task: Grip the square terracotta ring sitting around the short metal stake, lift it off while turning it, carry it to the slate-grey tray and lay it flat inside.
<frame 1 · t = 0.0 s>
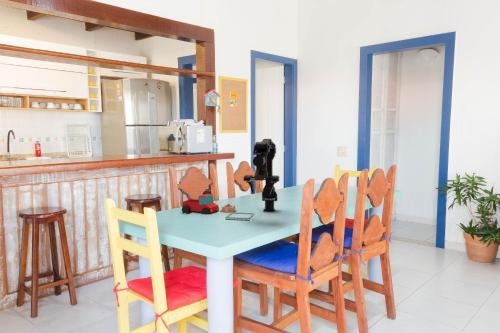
hand: (261, 194, 210), 15 cm above the table, fingers open, 9 cm apart
stake: (228, 212, 233), on the table
toy truck: (200, 213, 232), on the table
ring: (228, 211, 233), point 1 cm above the table, touching stake
tray: (240, 217, 219), on the table
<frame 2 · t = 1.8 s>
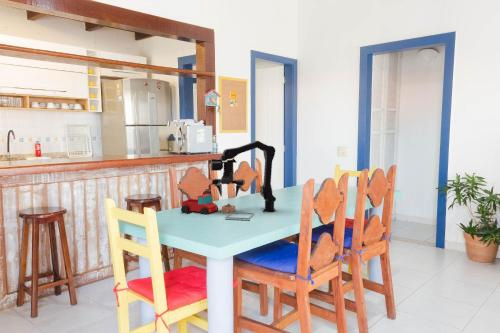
hand: (228, 196, 232), 10 cm above the table, fingers open, 9 cm apart
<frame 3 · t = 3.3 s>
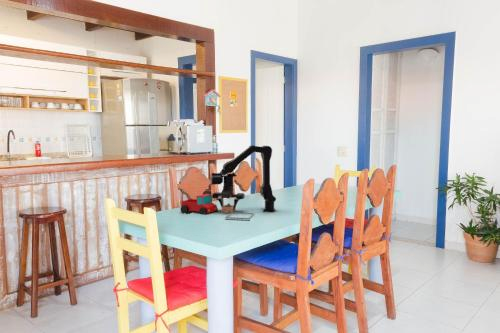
hand: (228, 210, 232), 2 cm above the table, fingers closed on ring, 7 cm apart
ring: (228, 211, 233), point 1 cm above the table, touching gripper, stake
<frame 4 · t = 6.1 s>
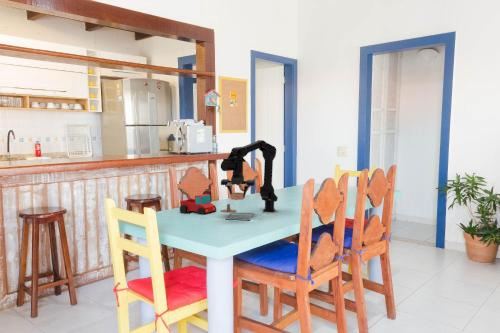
hand: (237, 197, 220), 11 cm above the table, fingers closed on ring, 7 cm apart
ring: (237, 198, 220), point 10 cm above the table, touching gripper
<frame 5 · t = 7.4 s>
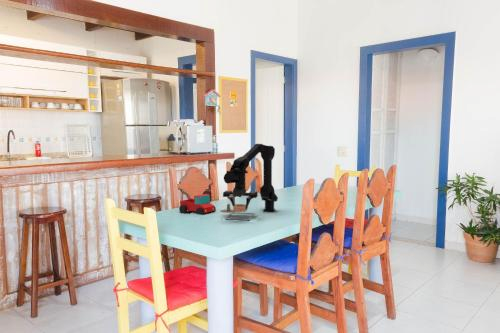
hand: (240, 209, 219), 5 cm above the table, fingers closed on ring, 7 cm apart
ring: (240, 210, 219), point 4 cm above the table, touching gripper
when the fingers open (3 cm above the table, at t = 8.7 s): ring drops 2 cm, resting on tray.
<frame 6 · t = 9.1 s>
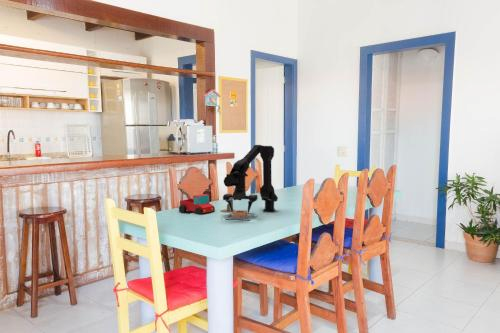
hand: (240, 212, 219), 3 cm above the table, fingers open, 9 cm apart
ring: (240, 216, 219), point 1 cm above the table, touching tray
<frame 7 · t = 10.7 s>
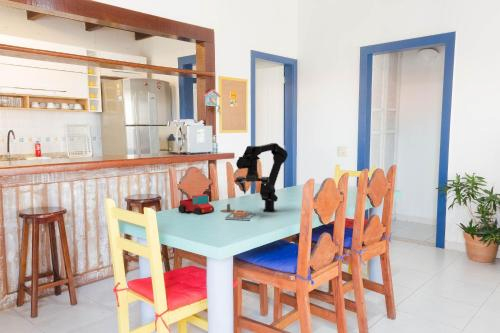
hand: (252, 194, 227), 12 cm above the table, fingers open, 9 cm apart
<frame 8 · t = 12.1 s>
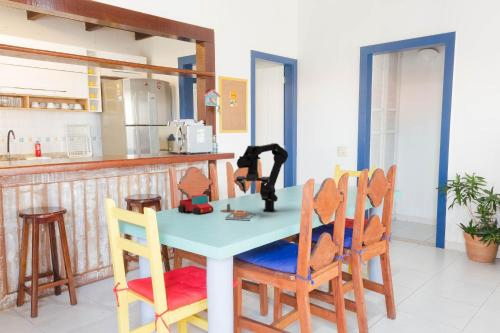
hand: (252, 193, 228), 12 cm above the table, fingers open, 9 cm apart
at the end: ring inside the target area on the tray (0.0 cm from its centre), point 0.6 cm above the tray's base; ring tilted 0°; the gripper is holding nothing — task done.
